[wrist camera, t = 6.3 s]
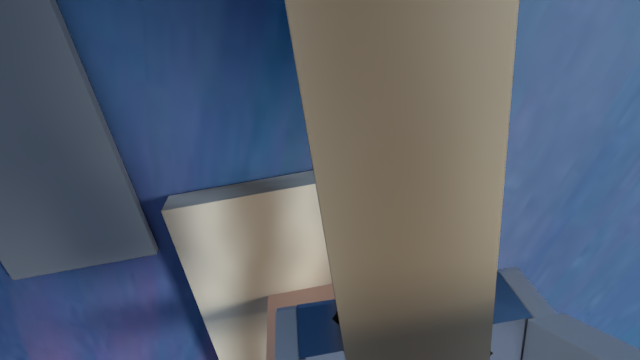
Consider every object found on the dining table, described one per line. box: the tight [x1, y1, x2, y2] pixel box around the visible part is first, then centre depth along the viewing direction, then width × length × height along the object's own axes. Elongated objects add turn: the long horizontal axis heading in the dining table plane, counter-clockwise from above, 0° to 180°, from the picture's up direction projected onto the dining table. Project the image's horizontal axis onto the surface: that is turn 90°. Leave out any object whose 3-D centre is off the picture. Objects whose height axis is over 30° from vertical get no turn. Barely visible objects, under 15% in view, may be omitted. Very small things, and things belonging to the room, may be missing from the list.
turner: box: [284, 0, 519, 360], centre depth 9 cm, size 6×20×3 cm, turn 8°
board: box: [161, 170, 332, 360], centre depth 31 cm, size 22×24×2 cm
